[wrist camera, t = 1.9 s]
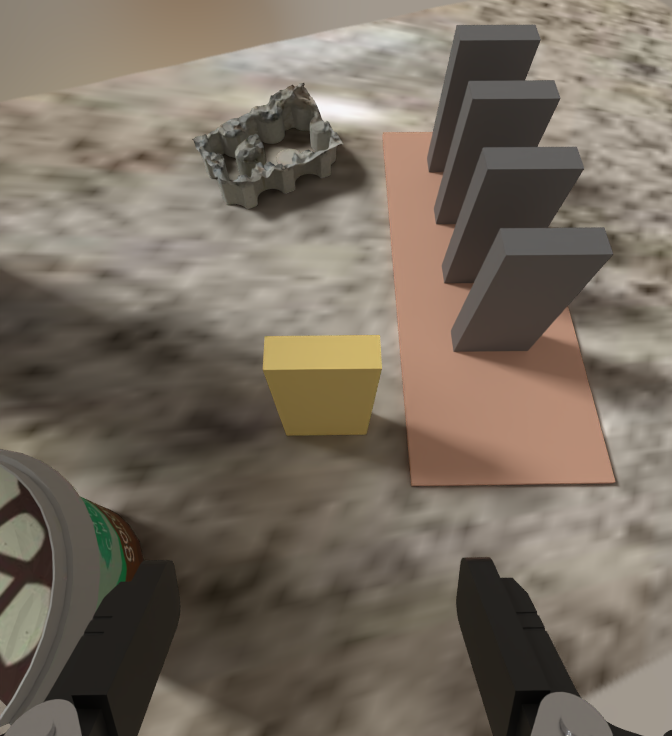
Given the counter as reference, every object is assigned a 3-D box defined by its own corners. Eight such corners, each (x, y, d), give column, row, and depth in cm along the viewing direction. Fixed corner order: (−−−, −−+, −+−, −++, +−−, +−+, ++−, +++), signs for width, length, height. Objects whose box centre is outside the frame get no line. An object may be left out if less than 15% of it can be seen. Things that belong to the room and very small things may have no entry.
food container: (216, 561, 25) (147, 557, 16) (138, 672, 23) (5, 741, 13) (62, 442, 27) (-73, 379, 18) (-21, 530, 25) (-219, 508, 16)
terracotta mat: (611, 483, 26) (615, 482, 26) (411, 486, 26) (412, 484, 26) (519, 135, 39) (520, 131, 39) (382, 136, 39) (382, 132, 38)
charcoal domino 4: (527, 350, 30) (613, 254, 21) (453, 351, 30) (505, 255, 21) (523, 330, 30) (604, 227, 21) (450, 330, 30) (500, 228, 21)
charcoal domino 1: (489, 171, 37) (540, 39, 27) (428, 172, 36) (460, 40, 27) (486, 158, 37) (535, 24, 28) (426, 158, 37) (456, 25, 28)
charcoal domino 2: (500, 223, 34) (560, 98, 25) (435, 224, 34) (472, 99, 25) (497, 207, 35) (554, 80, 26) (433, 208, 35) (468, 80, 26)
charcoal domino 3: (513, 282, 32) (584, 168, 23) (444, 283, 32) (487, 169, 23) (509, 264, 33) (576, 146, 24) (441, 265, 33) (482, 147, 24)
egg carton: (310, 123, 40) (308, 77, 36) (348, 177, 37) (350, 134, 34) (197, 160, 38) (182, 115, 34) (229, 220, 35) (216, 179, 31)
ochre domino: (366, 434, 28) (381, 368, 19) (286, 435, 28) (262, 369, 19) (365, 410, 28) (379, 335, 19) (287, 411, 28) (264, 336, 19)
